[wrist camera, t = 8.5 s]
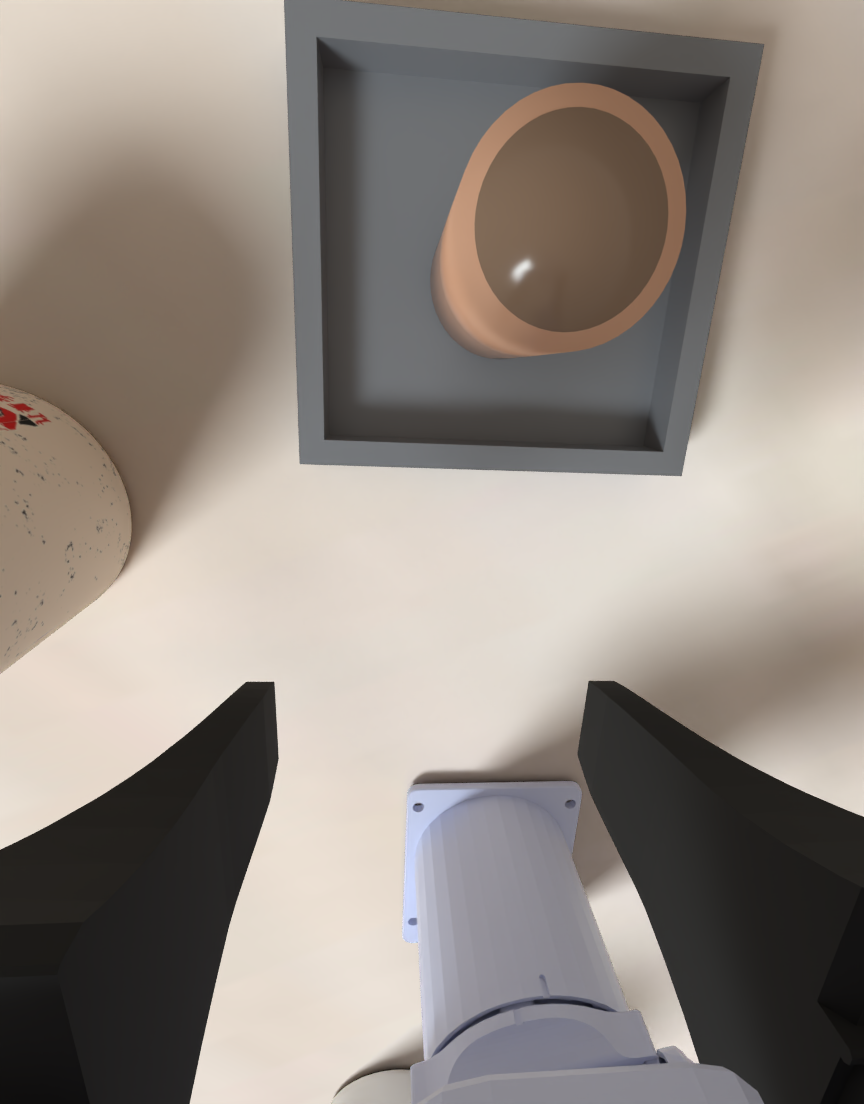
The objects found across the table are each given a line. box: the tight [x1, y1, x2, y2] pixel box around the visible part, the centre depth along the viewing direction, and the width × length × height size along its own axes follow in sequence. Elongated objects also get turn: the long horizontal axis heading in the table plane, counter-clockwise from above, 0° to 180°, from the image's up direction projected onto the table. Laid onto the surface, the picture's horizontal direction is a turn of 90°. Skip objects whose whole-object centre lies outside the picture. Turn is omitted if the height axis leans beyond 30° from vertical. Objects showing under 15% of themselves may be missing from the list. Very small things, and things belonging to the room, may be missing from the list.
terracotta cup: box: [430, 83, 686, 360], centre depth 14 cm, size 5×5×7 cm
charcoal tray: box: [284, 0, 764, 476], centre depth 17 cm, size 12×13×2 cm
